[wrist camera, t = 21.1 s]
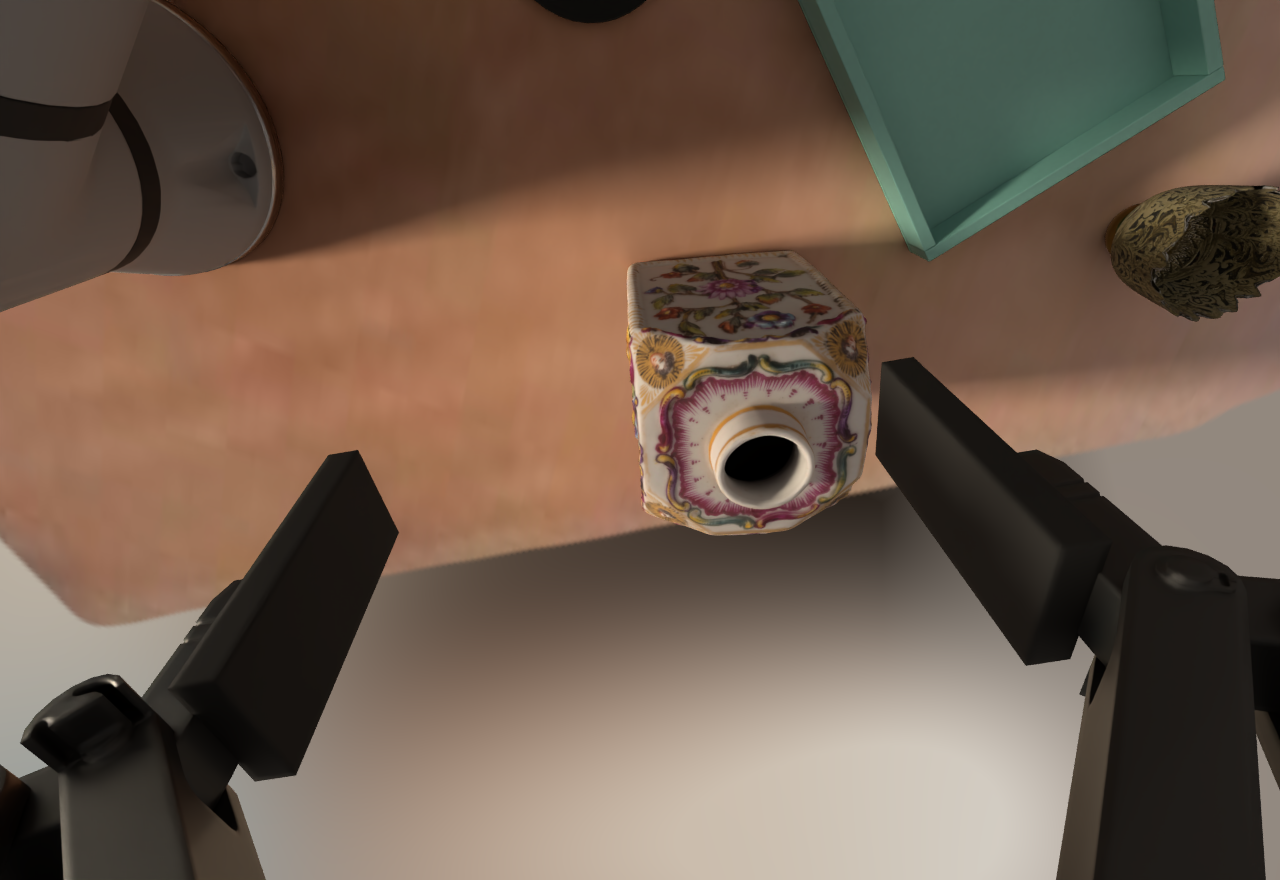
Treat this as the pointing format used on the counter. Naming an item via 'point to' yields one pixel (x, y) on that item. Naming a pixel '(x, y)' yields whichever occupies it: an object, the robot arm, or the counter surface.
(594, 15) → the wine glass
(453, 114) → the counter surface
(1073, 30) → the tray
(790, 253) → the decorative jar
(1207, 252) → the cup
